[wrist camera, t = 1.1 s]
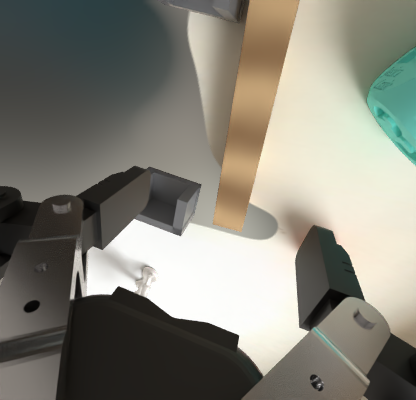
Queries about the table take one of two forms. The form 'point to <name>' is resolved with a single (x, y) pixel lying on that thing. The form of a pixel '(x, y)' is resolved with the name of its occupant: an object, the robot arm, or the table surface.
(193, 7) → the endcap
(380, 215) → the table surface
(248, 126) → the light brown long bar
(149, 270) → the figurine
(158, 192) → the endcap
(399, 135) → the decorative dice
